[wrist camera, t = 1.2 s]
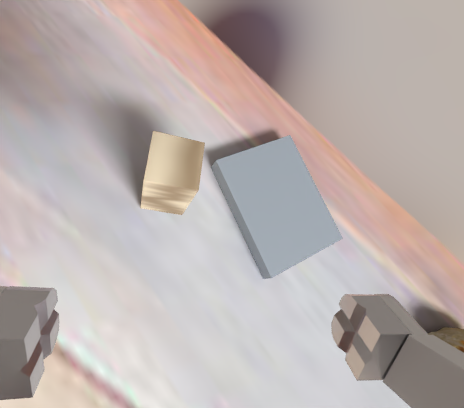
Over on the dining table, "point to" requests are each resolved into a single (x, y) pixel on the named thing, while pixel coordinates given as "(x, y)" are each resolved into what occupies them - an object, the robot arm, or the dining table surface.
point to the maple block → (171, 173)
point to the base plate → (276, 205)
